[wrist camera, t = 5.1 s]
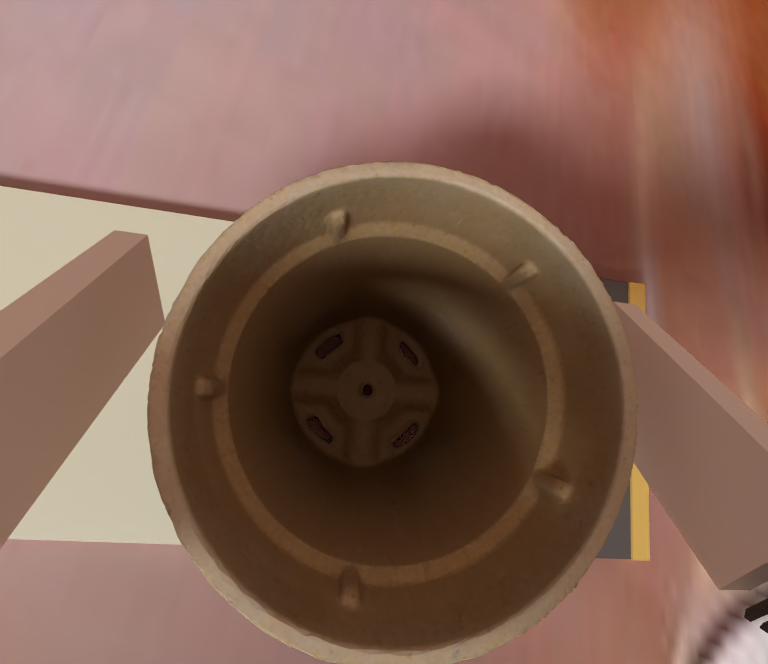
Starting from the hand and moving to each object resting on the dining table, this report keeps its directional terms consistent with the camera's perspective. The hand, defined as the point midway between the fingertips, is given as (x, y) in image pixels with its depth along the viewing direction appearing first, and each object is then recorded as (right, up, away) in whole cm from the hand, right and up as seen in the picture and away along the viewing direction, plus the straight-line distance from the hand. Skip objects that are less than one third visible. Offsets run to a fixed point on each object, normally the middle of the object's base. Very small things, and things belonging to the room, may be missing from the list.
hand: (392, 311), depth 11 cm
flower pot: (-1, -3, +5) cm, 6 cm away
